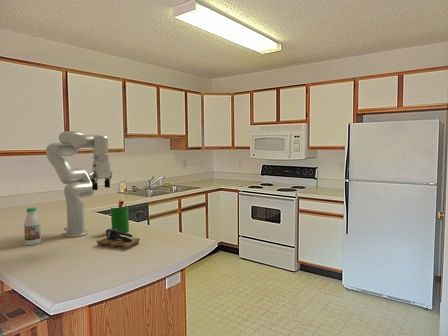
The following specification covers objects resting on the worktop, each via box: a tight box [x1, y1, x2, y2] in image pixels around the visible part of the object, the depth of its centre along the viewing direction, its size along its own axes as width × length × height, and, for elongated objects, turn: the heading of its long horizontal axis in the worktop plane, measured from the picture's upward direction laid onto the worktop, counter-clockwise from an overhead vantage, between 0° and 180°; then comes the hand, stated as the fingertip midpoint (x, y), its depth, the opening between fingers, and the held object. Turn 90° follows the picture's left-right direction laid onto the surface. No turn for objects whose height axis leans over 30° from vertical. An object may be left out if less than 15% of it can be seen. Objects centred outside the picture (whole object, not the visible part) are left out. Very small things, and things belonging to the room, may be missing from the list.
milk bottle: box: [23, 206, 42, 246], centre depth 181 cm, size 8×8×20 cm
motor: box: [110, 200, 130, 233], centre depth 203 cm, size 10×9×20 cm
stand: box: [95, 236, 141, 251], centre depth 177 cm, size 20×11×3 cm, turn 69°
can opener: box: [105, 228, 134, 242], centre depth 176 cm, size 18×7×6 cm, turn 63°
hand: (101, 188), depth 182 cm, fingers open, 9 cm apart
